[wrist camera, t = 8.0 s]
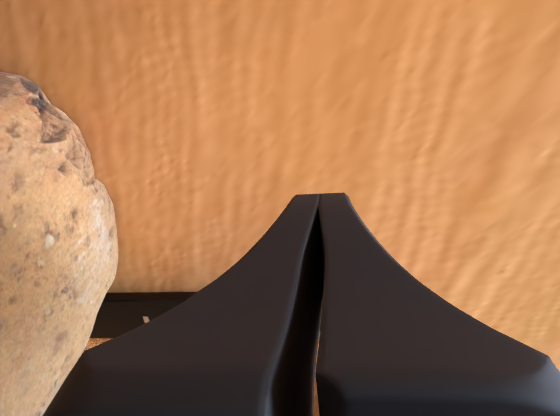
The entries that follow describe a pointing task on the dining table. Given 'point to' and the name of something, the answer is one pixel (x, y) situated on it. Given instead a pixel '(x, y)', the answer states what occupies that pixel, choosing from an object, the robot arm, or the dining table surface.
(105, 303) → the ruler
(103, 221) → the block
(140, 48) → the dining table surface
